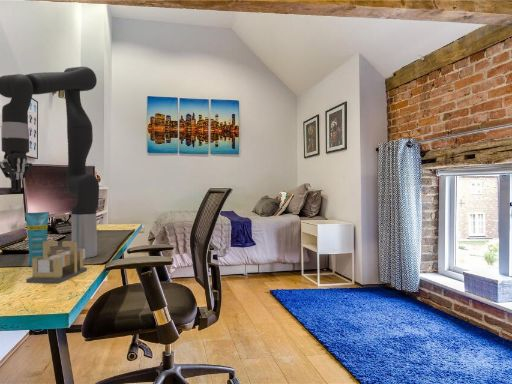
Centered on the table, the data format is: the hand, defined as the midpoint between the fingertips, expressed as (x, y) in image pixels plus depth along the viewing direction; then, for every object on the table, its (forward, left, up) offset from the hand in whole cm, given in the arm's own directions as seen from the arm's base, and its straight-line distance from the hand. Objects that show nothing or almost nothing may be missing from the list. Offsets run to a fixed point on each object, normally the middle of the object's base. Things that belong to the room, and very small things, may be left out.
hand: (16, 191), depth 122 cm
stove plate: (+1, +15, -27) cm, 31 cm away
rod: (-2, +15, -24) cm, 28 cm away
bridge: (0, +15, -27) cm, 31 cm away
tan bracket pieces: (0, +14, -26) cm, 30 cm away
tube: (-13, -2, -27) cm, 30 cm away
